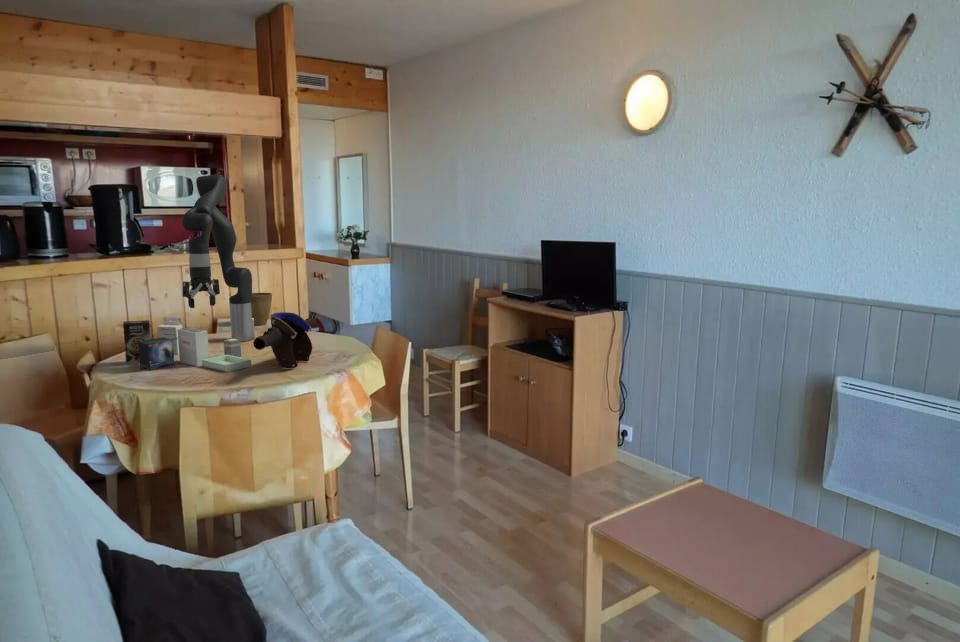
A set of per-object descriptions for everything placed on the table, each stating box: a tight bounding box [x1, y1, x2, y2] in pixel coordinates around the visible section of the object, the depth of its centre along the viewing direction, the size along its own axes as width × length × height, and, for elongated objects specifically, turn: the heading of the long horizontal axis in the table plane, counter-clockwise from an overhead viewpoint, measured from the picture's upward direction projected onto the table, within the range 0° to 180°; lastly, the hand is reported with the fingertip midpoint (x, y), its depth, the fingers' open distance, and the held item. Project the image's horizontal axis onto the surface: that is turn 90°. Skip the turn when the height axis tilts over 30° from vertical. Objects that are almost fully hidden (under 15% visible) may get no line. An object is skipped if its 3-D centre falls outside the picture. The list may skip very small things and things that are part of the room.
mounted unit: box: [177, 327, 210, 367], centre depth 248 cm, size 6×12×13 cm, turn 56°
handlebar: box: [252, 311, 318, 369], centre depth 246 cm, size 45×13×20 cm, turn 170°
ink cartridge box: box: [156, 316, 183, 356], centre depth 263 cm, size 9×5×15 cm, turn 84°
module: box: [223, 338, 242, 358], centre depth 259 cm, size 5×5×7 cm
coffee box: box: [122, 320, 151, 365], centre depth 248 cm, size 9×6×16 cm
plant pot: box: [251, 292, 273, 327], centre depth 330 cm, size 15×15×16 cm
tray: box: [201, 354, 252, 373], centre depth 244 cm, size 11×15×3 cm
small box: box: [138, 337, 176, 372], centre depth 241 cm, size 11×6×10 cm, turn 148°
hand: (202, 306), depth 249 cm, fingers open, 8 cm apart
